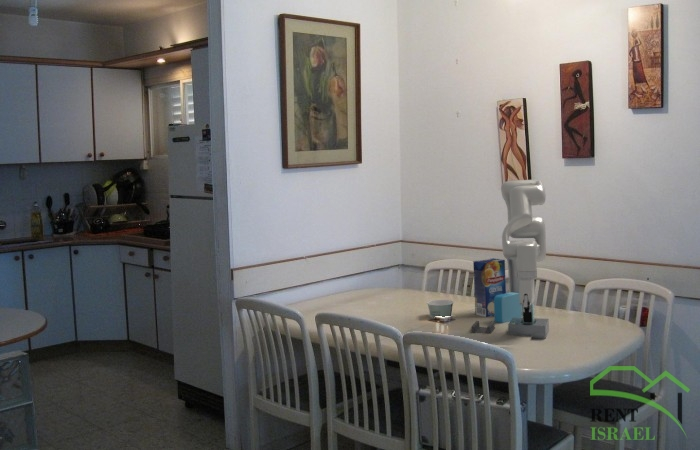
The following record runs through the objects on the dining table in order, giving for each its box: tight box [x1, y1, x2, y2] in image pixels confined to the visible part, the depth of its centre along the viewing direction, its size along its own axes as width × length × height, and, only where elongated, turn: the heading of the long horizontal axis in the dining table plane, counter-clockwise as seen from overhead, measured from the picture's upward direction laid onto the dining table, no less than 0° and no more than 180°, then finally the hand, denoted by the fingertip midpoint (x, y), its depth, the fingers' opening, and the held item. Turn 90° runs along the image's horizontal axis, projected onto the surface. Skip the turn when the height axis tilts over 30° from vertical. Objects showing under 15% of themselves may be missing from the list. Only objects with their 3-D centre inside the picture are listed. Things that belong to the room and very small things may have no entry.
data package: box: [494, 291, 523, 324], centre depth 308 cm, size 12×4×12 cm, turn 126°
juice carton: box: [473, 258, 507, 318], centre depth 325 cm, size 12×8×24 cm, turn 122°
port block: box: [507, 317, 550, 340], centre depth 287 cm, size 12×14×6 cm
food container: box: [426, 299, 455, 319], centre depth 326 cm, size 12×12×6 cm
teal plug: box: [521, 302, 535, 324], centre depth 286 cm, size 4×4×11 cm
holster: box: [470, 320, 496, 334], centre depth 293 cm, size 10×8×4 cm
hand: (528, 320), depth 287 cm, fingers closed on teal plug, 4 cm apart
